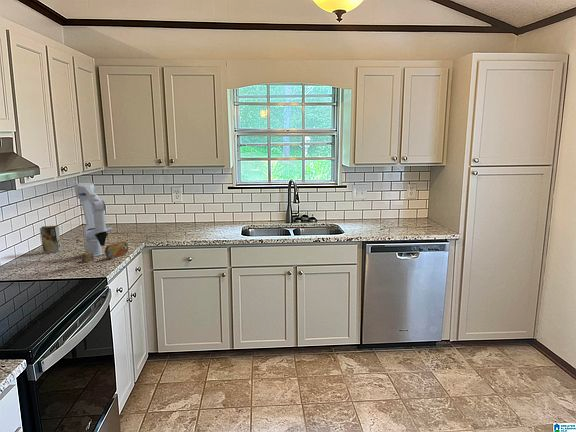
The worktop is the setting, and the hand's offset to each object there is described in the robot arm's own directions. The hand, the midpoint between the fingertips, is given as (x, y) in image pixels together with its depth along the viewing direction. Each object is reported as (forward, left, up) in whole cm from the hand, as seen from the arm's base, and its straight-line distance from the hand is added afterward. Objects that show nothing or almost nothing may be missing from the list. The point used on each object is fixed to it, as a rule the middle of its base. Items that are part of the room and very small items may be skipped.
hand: (102, 245), depth 241 cm
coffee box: (-49, -3, -9) cm, 50 cm away
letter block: (-8, -5, -9) cm, 13 cm away
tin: (0, +9, -9) cm, 13 cm away
